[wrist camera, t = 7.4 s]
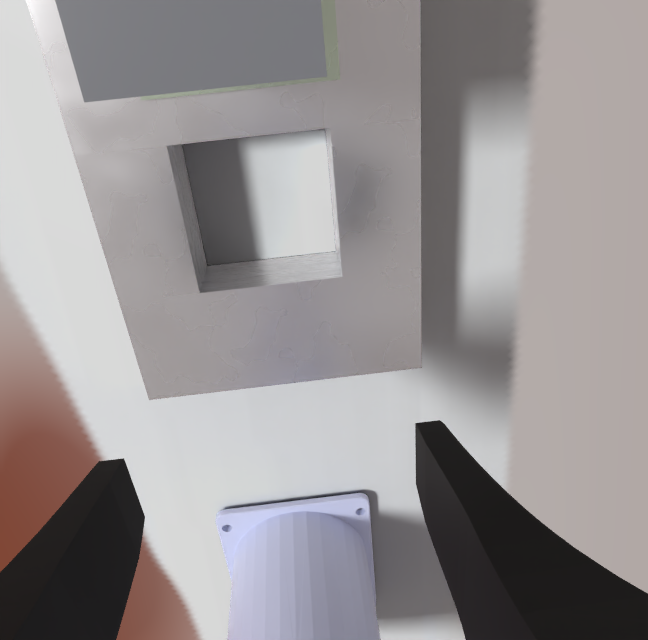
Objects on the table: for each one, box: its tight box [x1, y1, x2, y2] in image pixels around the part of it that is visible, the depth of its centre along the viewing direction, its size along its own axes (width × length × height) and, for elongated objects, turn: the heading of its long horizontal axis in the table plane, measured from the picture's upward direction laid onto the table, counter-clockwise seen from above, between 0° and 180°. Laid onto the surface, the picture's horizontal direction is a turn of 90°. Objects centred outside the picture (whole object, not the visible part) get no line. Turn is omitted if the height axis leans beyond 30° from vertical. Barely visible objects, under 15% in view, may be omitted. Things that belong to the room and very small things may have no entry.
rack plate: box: [26, 0, 422, 400], centre depth 18 cm, size 20×11×3 cm, turn 5°
